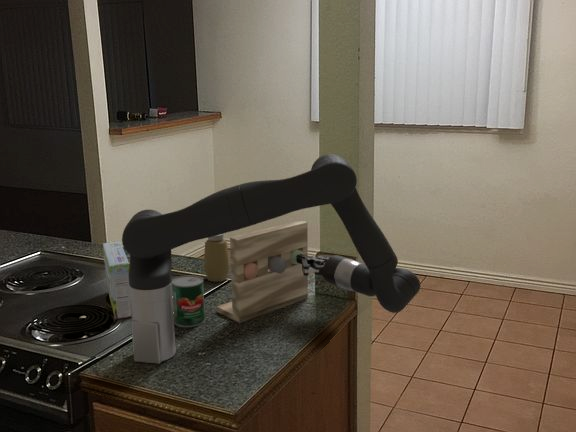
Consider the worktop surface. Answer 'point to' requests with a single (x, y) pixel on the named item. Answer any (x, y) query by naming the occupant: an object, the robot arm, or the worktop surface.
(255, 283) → the button panel
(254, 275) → the terracotta button
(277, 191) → the robot arm
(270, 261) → the grey button
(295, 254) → the sage button
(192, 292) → the canned tomato
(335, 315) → the worktop surface
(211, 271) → the squeeze bottle
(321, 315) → the worktop surface
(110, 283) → the snack box
